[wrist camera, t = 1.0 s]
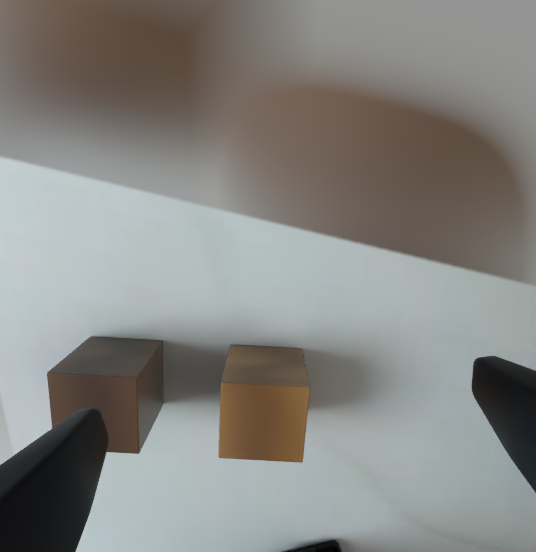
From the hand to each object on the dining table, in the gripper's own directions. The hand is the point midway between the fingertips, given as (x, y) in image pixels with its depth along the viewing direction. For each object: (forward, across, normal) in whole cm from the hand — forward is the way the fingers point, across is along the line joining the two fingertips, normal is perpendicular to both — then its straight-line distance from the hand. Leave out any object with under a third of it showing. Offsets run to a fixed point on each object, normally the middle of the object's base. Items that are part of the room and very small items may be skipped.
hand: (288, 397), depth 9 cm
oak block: (+14, +1, +10) cm, 17 cm away
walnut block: (+15, +11, +8) cm, 20 cm away
